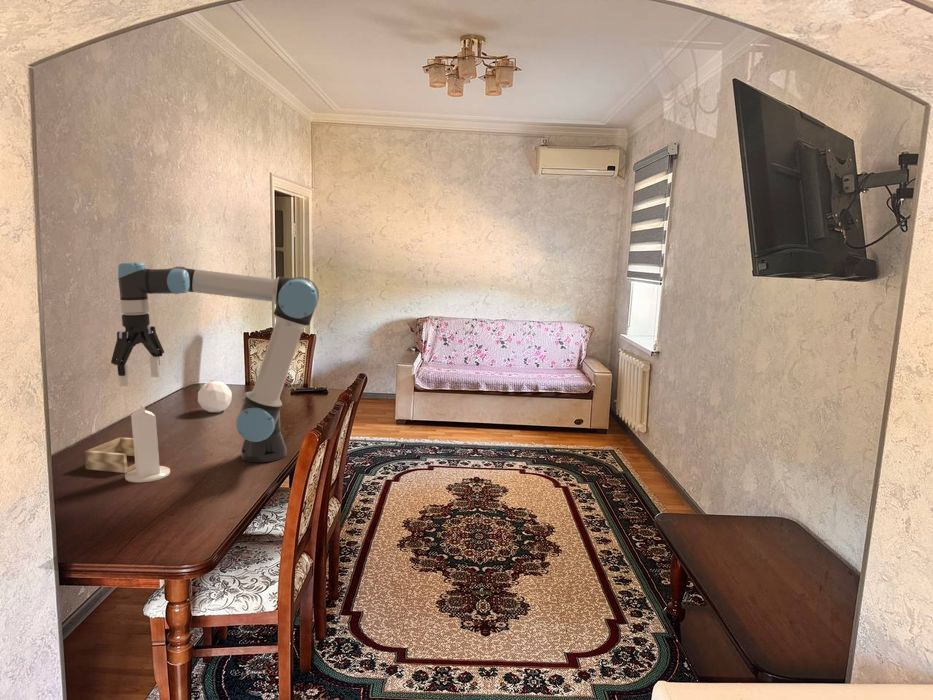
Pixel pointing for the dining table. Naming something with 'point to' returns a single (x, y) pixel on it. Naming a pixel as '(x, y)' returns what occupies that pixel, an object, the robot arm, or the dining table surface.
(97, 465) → the shelf bay
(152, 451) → the milk
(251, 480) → the dining table surface
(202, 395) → the geodesic sphere
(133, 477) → the cream flat disc
